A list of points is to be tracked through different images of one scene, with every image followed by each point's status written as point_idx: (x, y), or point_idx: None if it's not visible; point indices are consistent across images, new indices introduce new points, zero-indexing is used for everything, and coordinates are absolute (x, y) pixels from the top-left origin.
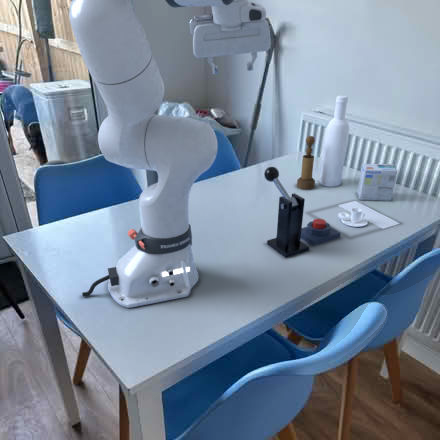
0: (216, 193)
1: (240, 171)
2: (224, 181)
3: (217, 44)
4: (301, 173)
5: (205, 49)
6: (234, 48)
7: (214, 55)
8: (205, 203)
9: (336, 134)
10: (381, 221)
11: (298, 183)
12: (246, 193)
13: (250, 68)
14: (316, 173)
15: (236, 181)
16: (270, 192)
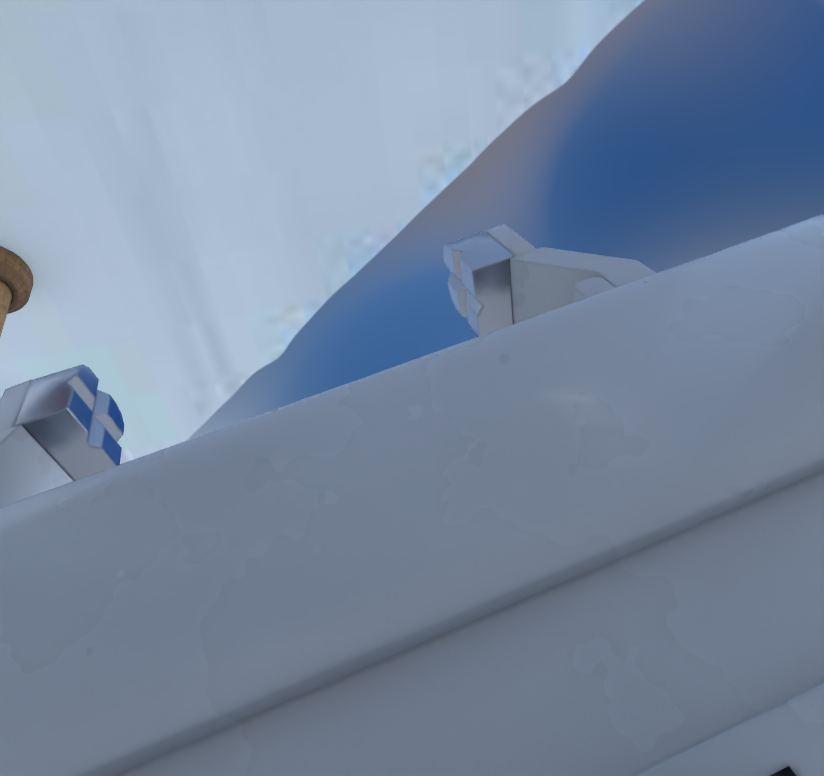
0: (324, 151)
1: (281, 341)
2: (316, 259)
3: (648, 428)
4: (4, 300)
5: (820, 301)
6: (257, 479)
7: (598, 298)
8: (349, 41)
9: None
10: None
11: (13, 264)
12: (208, 168)
13: (37, 383)
14: (8, 382)
15: (275, 266)
16: (113, 193)
